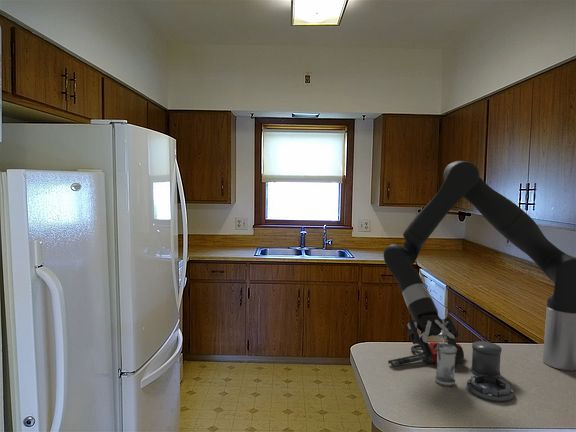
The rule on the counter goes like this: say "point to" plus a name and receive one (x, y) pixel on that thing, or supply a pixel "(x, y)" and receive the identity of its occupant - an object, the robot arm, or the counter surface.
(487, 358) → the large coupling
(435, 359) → the valve
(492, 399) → the flange
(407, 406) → the counter surface
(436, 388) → the counter surface
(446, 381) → the fitting
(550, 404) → the counter surface
